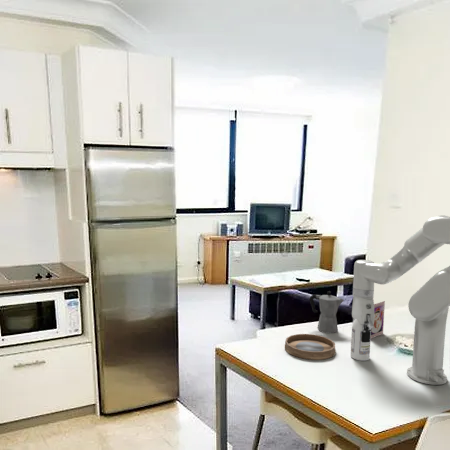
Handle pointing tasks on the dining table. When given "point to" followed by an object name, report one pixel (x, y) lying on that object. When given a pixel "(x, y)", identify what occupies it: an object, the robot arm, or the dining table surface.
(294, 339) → the round tray
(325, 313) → the coffeepot
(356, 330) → the bath foam
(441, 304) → the robot arm
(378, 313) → the greeting card
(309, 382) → the dining table surface
